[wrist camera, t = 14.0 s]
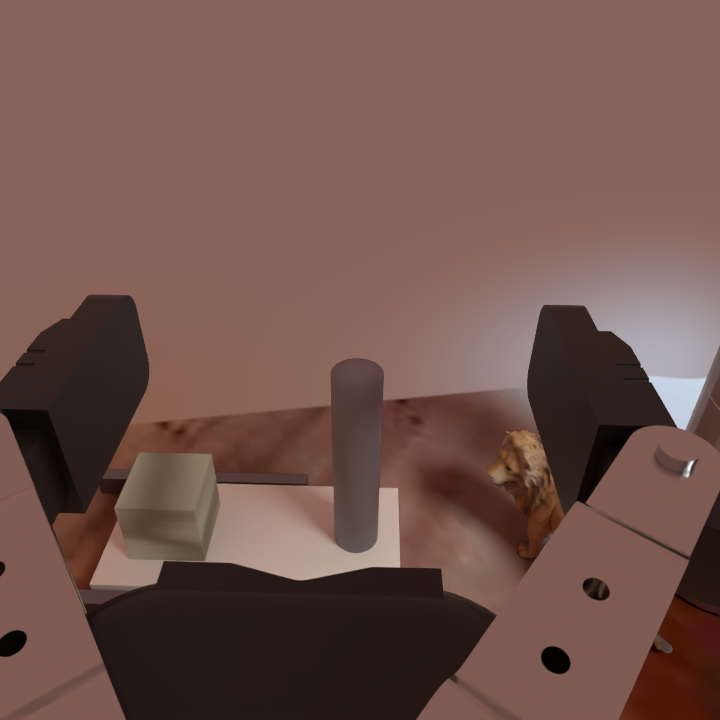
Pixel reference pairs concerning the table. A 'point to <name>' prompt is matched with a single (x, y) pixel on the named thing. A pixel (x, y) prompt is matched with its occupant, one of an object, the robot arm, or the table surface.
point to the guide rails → (117, 479)
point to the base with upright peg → (300, 506)
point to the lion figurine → (533, 492)
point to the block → (169, 506)
